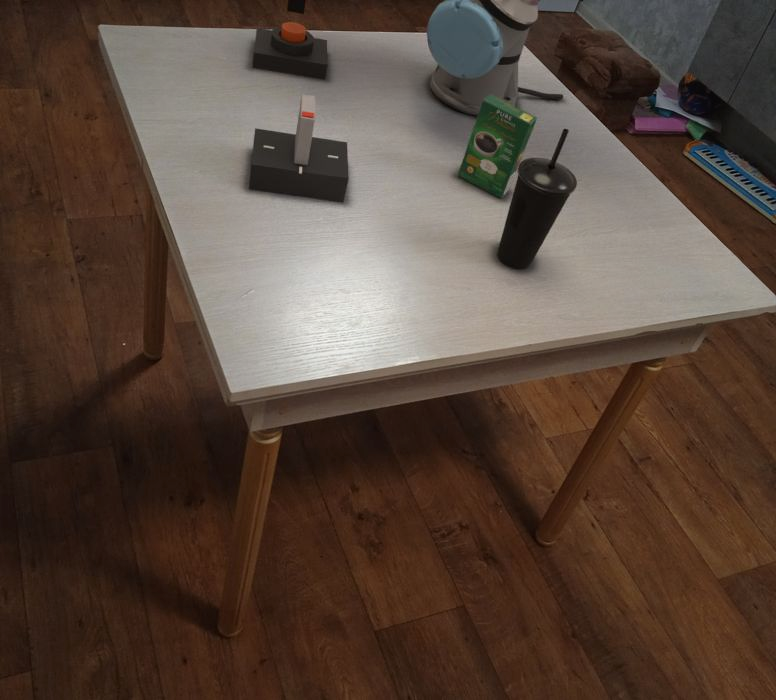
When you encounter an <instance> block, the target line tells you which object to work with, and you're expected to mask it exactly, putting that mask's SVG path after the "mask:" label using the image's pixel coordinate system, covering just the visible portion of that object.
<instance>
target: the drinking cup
mask: <svg viewBox="0 0 776 700" xmlns="http://www.w3.org/2000/svg"><path fill="white" fill-rule="evenodd" d="M569 133H570V130H569V128H568V129H567V128H563V130H562V132H561V135H560V136H559V139H558V142H557V144H556V147H555V149H554V152H553V154H552V157H551V159H548V158H546V157H545V158H544V157H537V156H535V157H527V158H525V159H523V160H522V161H520V163H519V165H518V168H517V178H516V181H515V185H514V189H513V193H512V197H511V201H510V204H509V208H508V211H507V215H506V219H505V223H504V226H503V230H502V234H501V238H500V241H499V245H498V248H497V252H496V256H497V258H498V260H499V261H500V262H501V263H502V264H503V265H505V266H506V267H508V268H510V269H514V270H526V269H528V268H530V267H531V265H532V263H533V261H534V259H535V257H536V256H537V254H538V252H539V250H540V249H541V247H542V245H543V243H544V242H545V240H546V238H547V236H548V235H549V232H550V231H551V229H552V227H553V226H554V224H555V222H556V220H557V218H558V217H559V215H560V213H561V212H562V209H563V208H564V206H565V204H566V202H567V200H568V199H569V197H570V195H571V194H572V193H573V192H575V190H576V188H577V187H578V180H577V177H576V175H575V174H574V173H573V172H572V171H571V169H569V168H568V167H566V166H565V165H563V164H561V163H560V162H558V158H559V156H560V154H561V151H562V149H563V146H564V145H565V142H566V139H567V136H568V134H569Z"/></svg>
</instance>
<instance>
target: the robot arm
mask: <svg viewBox="0 0 776 700" xmlns="http://www.w3.org/2000/svg"><path fill="white" fill-rule="evenodd" d="M540 1H541V0H443V1H442V2H440V3H438V5H437V6H436V7H435V9H434V10H433V12H432V14H431V15H430V17H429V20H428V23H427V27H426V40H427V46H428V49H429V52H430V54H431V56H432V58H433V59H434V61H435V62H436V63H437V64H436V66H435V68H434V70H433V72H432V76H431V79H430V89H431V91H432V93H433V94H434V95H435V96H436V97H437V98H438V100H440V101H441V102H442V103H444V104H445V105H447V106H449V107H451V108H452V109H455V110H457V111H459V112H462V113H465V114H468V115H473V116H478V114H479V111H480V108H481V105H482V102H483V100H484V99H485V98H486V97H487V96H489V95H490V94H492V95H494V96H496V97H498V98H500V99H502V100H504V101H506V102H507V103H509V104H511V105H513V106H515V107H516V103H517V100H518V98H519V97H518V95H519V93H520V94H525V95H528V96H533V97H537V98H541V99H548V100H563V99H564V94H562V93H546V92H541V91H538V90H534V89H530V88H526V87H525V88H524V87H520V86H519V63H520V58H521V55H522V52H523V50H524V47H525V44H526V41H527V38H528V35H529V31H530V29H531V27H532V26H533V24H534V23H535V22H536V21H537V20H538V18H539V17H538V16H539V3H540ZM306 2H307V1H306V0H287V7H286V11H287V12H290V13H295V14H301V15H304V14H305V8H306Z"/></svg>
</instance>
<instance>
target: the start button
mask: <svg viewBox="0 0 776 700" xmlns="http://www.w3.org/2000/svg"><path fill="white" fill-rule="evenodd" d="M281 26H282V28H281V37H282V38H283V39H285V40H287V41H290V42H296V43H297V42H304V41H305V35H306V31H307V28H306V27H305V26H304V25H303V24H301V23H298V22H295V21H286V22H283V23H282V24H281Z"/></svg>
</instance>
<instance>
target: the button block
mask: <svg viewBox="0 0 776 700" xmlns="http://www.w3.org/2000/svg"><path fill="white" fill-rule="evenodd" d="M281 28H282V25H278V26H276V27H274V28H273V29H266V28H261V27H256V32H255V39H254V47H253V55H252V66H251V67H252V68H253V69H259V70H264V71H270V72H275V73H282V74H288V75H295V76H301V77H305V78H313V79H318V80H326V76H327V71H328V64H329V63H328V39H323V38H319V37H315V36H314V35H313V34H312V33H311V32H310V31H308V30H306V35H305V41H304V42H297V43H296V42H290V41H287V40H285V39H283V38H282V37H281Z"/></svg>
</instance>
